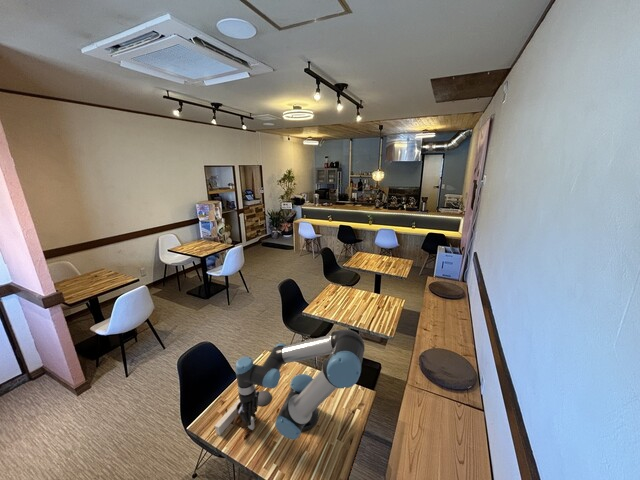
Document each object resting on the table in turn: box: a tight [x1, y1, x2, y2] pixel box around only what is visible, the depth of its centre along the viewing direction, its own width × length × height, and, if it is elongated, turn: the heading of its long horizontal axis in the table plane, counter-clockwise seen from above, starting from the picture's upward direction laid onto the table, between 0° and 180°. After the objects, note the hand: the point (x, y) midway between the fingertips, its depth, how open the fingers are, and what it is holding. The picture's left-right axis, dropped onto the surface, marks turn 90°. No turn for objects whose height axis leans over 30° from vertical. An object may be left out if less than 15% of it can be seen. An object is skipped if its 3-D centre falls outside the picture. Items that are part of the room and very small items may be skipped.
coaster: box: [257, 390, 272, 407], centre depth 140 cm, size 9×9×1 cm
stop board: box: [214, 398, 241, 436], centre depth 130 cm, size 2×22×5 cm, turn 153°
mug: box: [232, 402, 248, 428], centre depth 125 cm, size 12×8×9 cm, turn 161°
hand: (251, 427), depth 124 cm, fingers closed
